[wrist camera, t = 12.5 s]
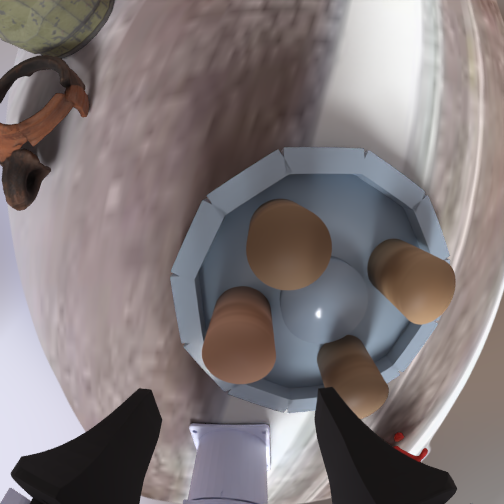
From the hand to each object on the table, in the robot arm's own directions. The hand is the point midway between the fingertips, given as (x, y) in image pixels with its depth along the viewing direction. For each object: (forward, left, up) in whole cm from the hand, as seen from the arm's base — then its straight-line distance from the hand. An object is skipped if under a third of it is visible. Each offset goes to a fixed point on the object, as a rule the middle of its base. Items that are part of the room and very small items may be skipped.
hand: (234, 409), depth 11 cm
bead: (+3, -11, -9) cm, 15 cm away
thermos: (+27, +14, -11) cm, 32 cm away
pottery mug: (+15, +16, -11) cm, 24 cm away
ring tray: (+1, -6, -10) cm, 12 cm away
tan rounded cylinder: (-4, -8, -9) cm, 13 cm away
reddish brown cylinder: (0, 0, -9) cm, 9 cm away
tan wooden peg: (+6, -3, -9) cm, 11 cm away
